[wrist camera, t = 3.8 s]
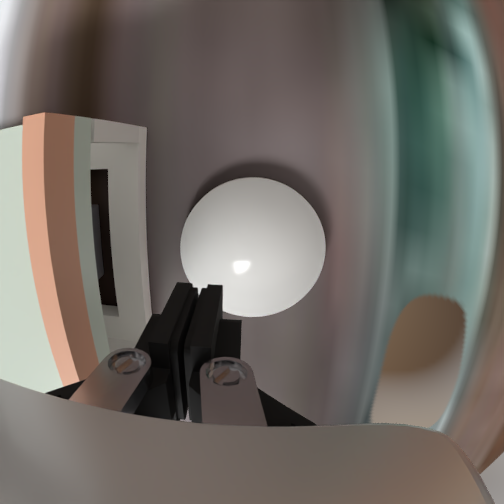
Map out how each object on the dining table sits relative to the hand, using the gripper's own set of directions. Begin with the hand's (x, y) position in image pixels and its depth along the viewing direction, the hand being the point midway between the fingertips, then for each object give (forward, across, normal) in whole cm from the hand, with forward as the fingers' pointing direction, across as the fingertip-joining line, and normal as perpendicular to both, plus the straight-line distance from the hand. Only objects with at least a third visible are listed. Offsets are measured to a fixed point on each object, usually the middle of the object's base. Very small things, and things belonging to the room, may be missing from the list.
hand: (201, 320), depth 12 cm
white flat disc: (+9, -2, 0) cm, 10 cm away
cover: (+2, +11, 0) cm, 11 cm away
